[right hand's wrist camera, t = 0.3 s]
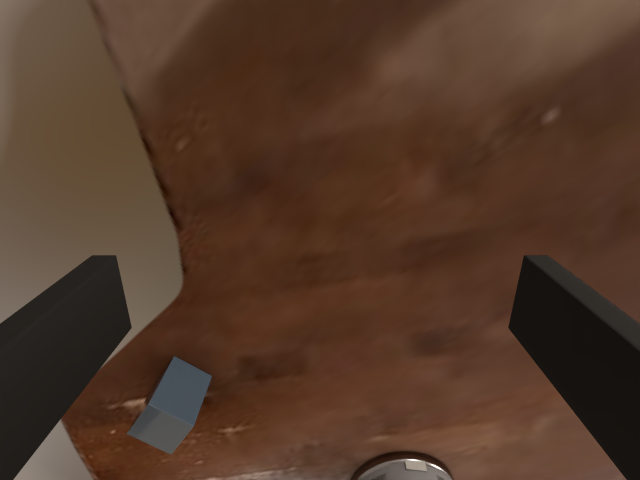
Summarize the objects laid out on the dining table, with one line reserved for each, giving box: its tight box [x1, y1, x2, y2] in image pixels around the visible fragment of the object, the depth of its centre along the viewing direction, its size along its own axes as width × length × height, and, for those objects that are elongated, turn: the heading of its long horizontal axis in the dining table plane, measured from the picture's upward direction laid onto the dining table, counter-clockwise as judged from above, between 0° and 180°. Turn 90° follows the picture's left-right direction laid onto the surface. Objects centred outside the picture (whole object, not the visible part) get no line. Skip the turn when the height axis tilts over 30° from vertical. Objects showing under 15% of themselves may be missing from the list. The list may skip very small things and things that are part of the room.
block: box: [127, 356, 212, 454], centre depth 45 cm, size 5×5×8 cm
